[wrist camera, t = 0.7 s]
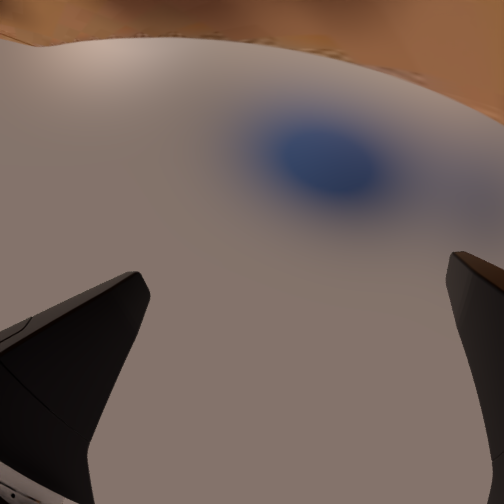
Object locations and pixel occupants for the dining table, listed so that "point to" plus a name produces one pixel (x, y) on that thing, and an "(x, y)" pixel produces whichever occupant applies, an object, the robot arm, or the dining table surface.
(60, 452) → the robot arm
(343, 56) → the dining table surface
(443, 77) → the dining table surface
